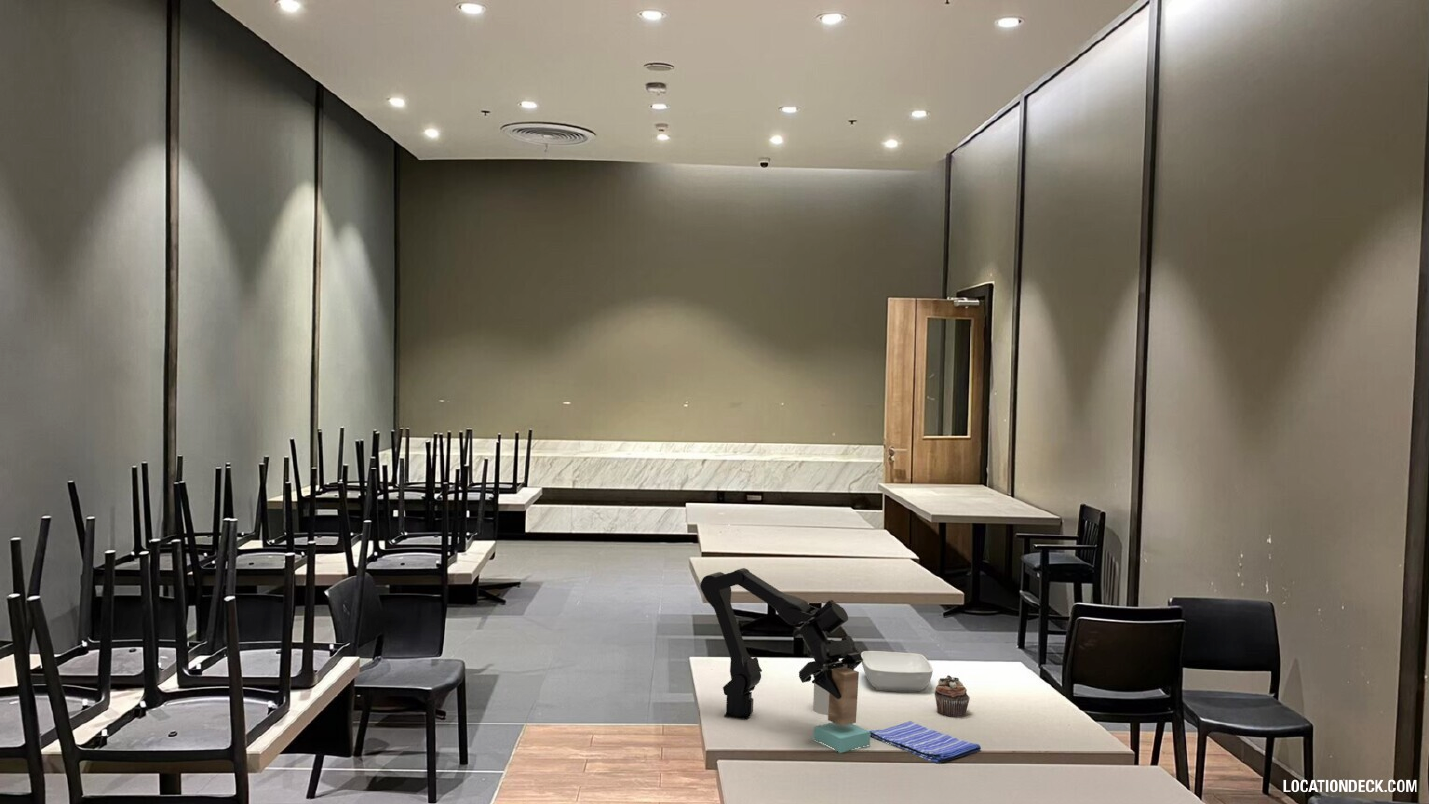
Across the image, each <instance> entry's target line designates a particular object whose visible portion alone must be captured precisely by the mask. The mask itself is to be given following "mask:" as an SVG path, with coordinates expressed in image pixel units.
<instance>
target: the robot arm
mask: <svg viewBox="0 0 1429 804" xmlns="http://www.w3.org/2000/svg"><path fill="white" fill-rule="evenodd" d="M699 586H700V590H701V592H702V594H703V596H704V598H705V600H706V601H707V602H708V604H710V606H711V607H712V608H713V610H714V613H715V616H716V619H717V621H718V625H719V628H720V630H721V631H720V632H721V633H722V637H723V640H724V642H725V645H726V648H727V652H728V655H729V658H730V664H729V665H730V667H729V674H730V680H729V681H728V682H727V683H726V684H725V685H724V686H722V690H723V693H724V696H726V702H725V703H726V706H725V707H726V708H725V709H726V710H725V713H724V714H723V717H725V718H731V719H740V720H746V721H747V720H749V718H750V717H751V716H752V715H753V713H754V697H753V696H752V693H753V692H752V691H754V690H755V687H756V686H757V685H758V684H759V683H760V681H761V680H762V673H761V672H763V670H762V669H761V667H760V664H759V659H758V657H757V656H755V657H753V658H752V656H751V655H750V654H749V653H748V651H747V647H746V645H745V642H744V638H743V636H742V633H741V629H740V627H739V623H738V621H737V619H736V615H735V612H734V609H733V607H732V602H731V600H732V587H734V586H739V587H741V588H743V589H744V590H746V591H747V592H748V593H750V594H752V595H754V596H755V597H757V598H758V599H760V600H761V601H763V602H764V603H765V604H768V605H769V606H771V607H772V608H773V609H774V610H775V611H776V613H777V615H778V616H779V617H780V618H781V619H782V620H783V621H784V622H786V623H787V624H788V625H790V626H794V631H793V633H792V637H793V638H796V639H797V638H799V639H801V638H802V640H803V642H804V643H805V645H806V647H807V648H808V652H807V656H808V658H813V661H808V662H807V663H806V664H805V665H804V666H803V667H802V668H801V669H800V670H799V672H798V677H799V679H800V681H801V683H803V684H804V683H808V682H810V681H811V680H812V681H811V683H812V684H814V683H815V684H817V685H818V686H820V687H822V688H823V689H825V690H826V691H827V692H829V693H830V694H832V695H833V696H834V697H836V698H837V699H840V698H841V695H840V692H839V690H838V688H837V686H836V684H835V682H834V680H833V678H832V669H836V668H841V667H846V668H849V669H852V670H855V669H856V668H857V667H858V666H860V665H861V664H862V661H863V658H862V657H861V653H859V652H853V649H854V648H855V645H856V644H855V641H854V639H853V638H852V636H851V635H848V636H844V637H841V640H837V641H834V639H829V638H828V636H827V635H826V633H829V634H833V633H834V632H835V631H836V630H837V629H839V628H840V627H841V626H844V624H845V623H846V622H848V621H849V616H848V613H847V611H846V609H845V608H844V607H841V605H840V604H838V603H837V602H835V601H834V600H833V599H830V600H827V602H825V604H824V605H823V606H822V607H820V608H818V607H816V606H812V605H810V603H809V602H808V601H806V600H804V599H803V598H800V597H797V596H795V595H790V594H786V593H784V592H783V591H781V590H779V589H778V588H776V587H774V586H773V585H771V584H770V583H768V582H766V581H765V580H763V579H761V578H760V577H759V576H756V575H755V574H754V573H752V572H750V570H749V569H747V568H745V567H742V568H739V569H736V570H734V571H731V572H727V573H724V572H721V571H718V572H714V573H711V574H707V575H705V576H704V577H703V578H702V579H701V581H700V585H699ZM802 623H803V624H802ZM800 624H802V625H801V626H796V625H800ZM851 652H852V653H851ZM845 653H847V654H846V655H845V656H844V654H845ZM840 659H841V660H840ZM812 676H813V679H812Z"/></svg>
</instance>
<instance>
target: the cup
mask: <svg viewBox="0 0 1429 804" xmlns="http://www.w3.org/2000/svg"><path fill="white" fill-rule="evenodd" d="M812 703H813V704H812V705H813V706H812V707H813V708H812V710H813V711H814V712H815V713H818V714H821V715H827V716H828V709H829V692H827V691H826V690H825V689H823V688H822V687H820V686H818V685H817V684H815V683H813V701H812Z"/></svg>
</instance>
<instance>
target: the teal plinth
mask: <svg viewBox="0 0 1429 804" xmlns="http://www.w3.org/2000/svg"><path fill="white" fill-rule="evenodd" d="M870 731H871V730H867V729H865V728H862V727H860V726H858V725H856V724H855V723H853V724H849V725H845V726H841V725H838V724H836V723H833V722H829V723H824V724H819V725H815V726H814V727H813V741H814V740H816V741H818V742H822V743H824V744H826V745H828V746H830V747H832V748H834V749H835V750H836V751H835V750H834V751H835V752H837V751H838V752H837V753H839V754H842V753H846V751H847V752H849V751H848V750H851V751H853V750H852V749H855V748H858V747H863V746H867V745H870V746H871V737H870ZM818 742H817V743H818ZM863 748H864V747H863ZM855 750H856V749H855Z"/></svg>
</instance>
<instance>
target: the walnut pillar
mask: <svg viewBox="0 0 1429 804" xmlns="http://www.w3.org/2000/svg"><path fill="white" fill-rule="evenodd" d="M859 674H860V672H859V671H858V670H855V669H854V670H852V669H849V668H846V667H841V668H836V669H832V678H833V680H834V682H835V684H836V686H837V688H838V690H839V692H840V695H841V698H840V699H837V698H836V697H834V696H833V695H832V694H830V693H829V709H828V715H827V721H828V722H830V723H836V724H838V725H841V726H845V725H849V724H856V723H857V714H858V713H857V711H858V710H857V709H858V697H859V696H858V694H859V677H860V675H859Z"/></svg>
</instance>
